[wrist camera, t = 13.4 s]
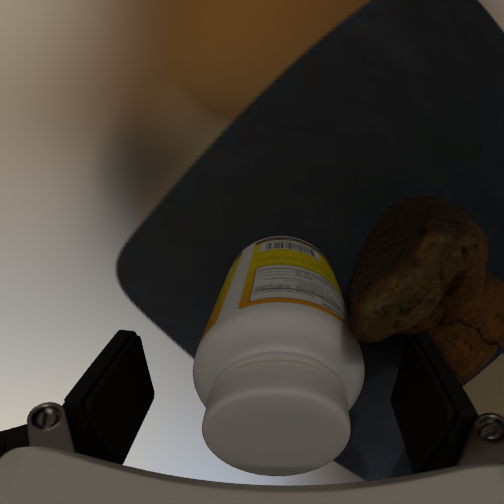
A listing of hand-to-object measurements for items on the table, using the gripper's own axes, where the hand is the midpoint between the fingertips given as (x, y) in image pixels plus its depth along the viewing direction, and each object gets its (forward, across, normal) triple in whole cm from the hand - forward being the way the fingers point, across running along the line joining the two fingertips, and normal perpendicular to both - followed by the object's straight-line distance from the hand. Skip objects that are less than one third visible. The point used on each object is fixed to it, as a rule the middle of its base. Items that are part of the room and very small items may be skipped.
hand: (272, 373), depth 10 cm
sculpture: (+7, -10, 0) cm, 12 cm away
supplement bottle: (+7, 0, 0) cm, 7 cm away
